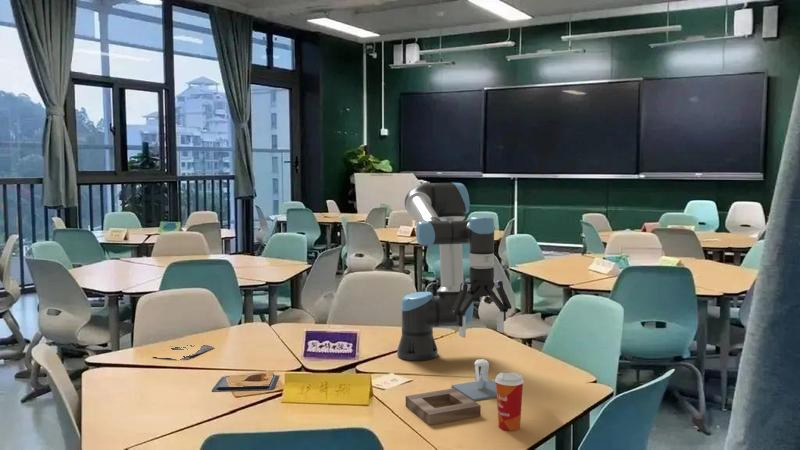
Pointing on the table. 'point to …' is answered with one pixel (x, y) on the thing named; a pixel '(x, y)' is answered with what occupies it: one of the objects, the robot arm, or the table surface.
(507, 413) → the paper cup
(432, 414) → the pocket block
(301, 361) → the table surface
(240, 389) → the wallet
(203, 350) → the terrain model
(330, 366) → the table surface
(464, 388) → the mat
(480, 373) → the milkshake
